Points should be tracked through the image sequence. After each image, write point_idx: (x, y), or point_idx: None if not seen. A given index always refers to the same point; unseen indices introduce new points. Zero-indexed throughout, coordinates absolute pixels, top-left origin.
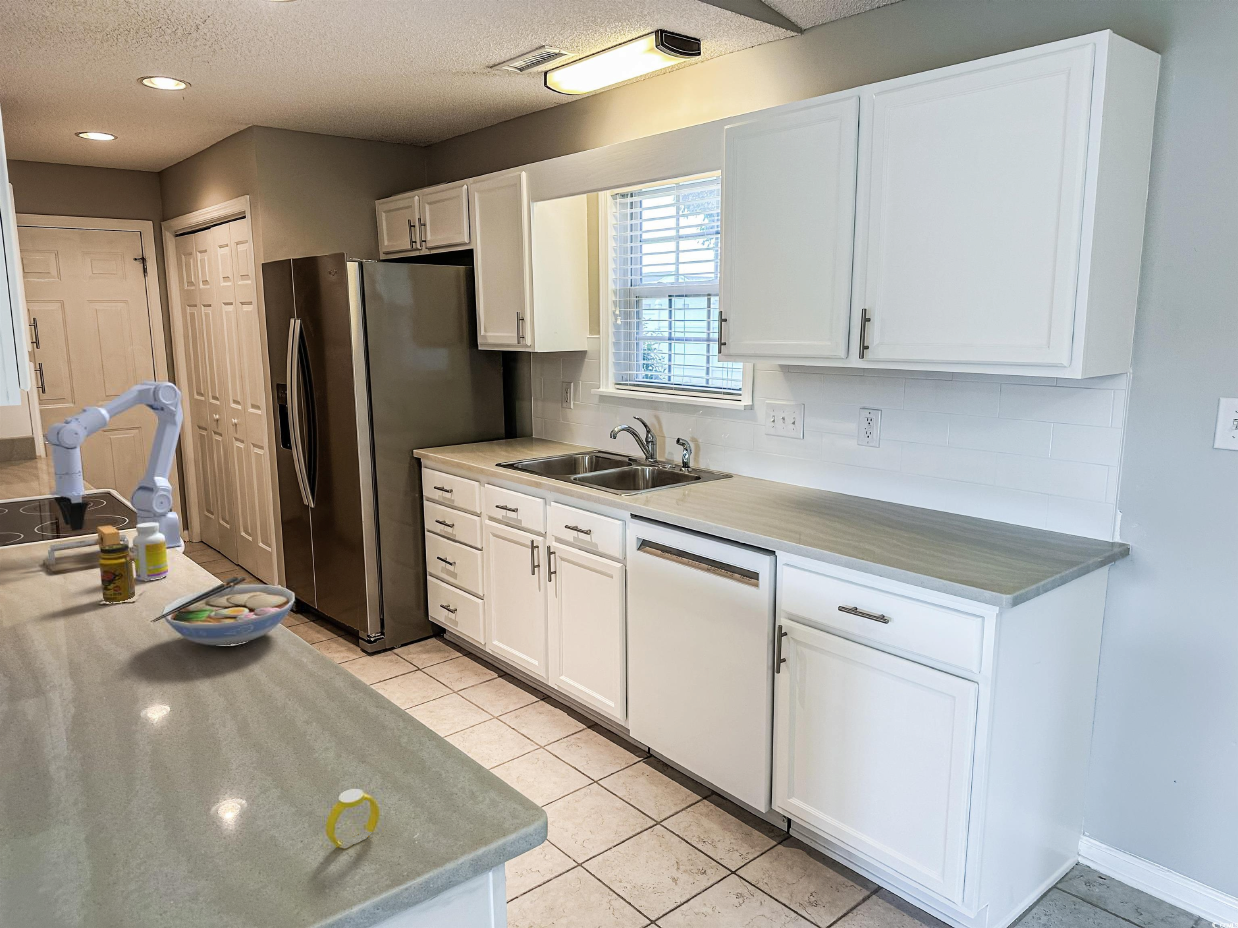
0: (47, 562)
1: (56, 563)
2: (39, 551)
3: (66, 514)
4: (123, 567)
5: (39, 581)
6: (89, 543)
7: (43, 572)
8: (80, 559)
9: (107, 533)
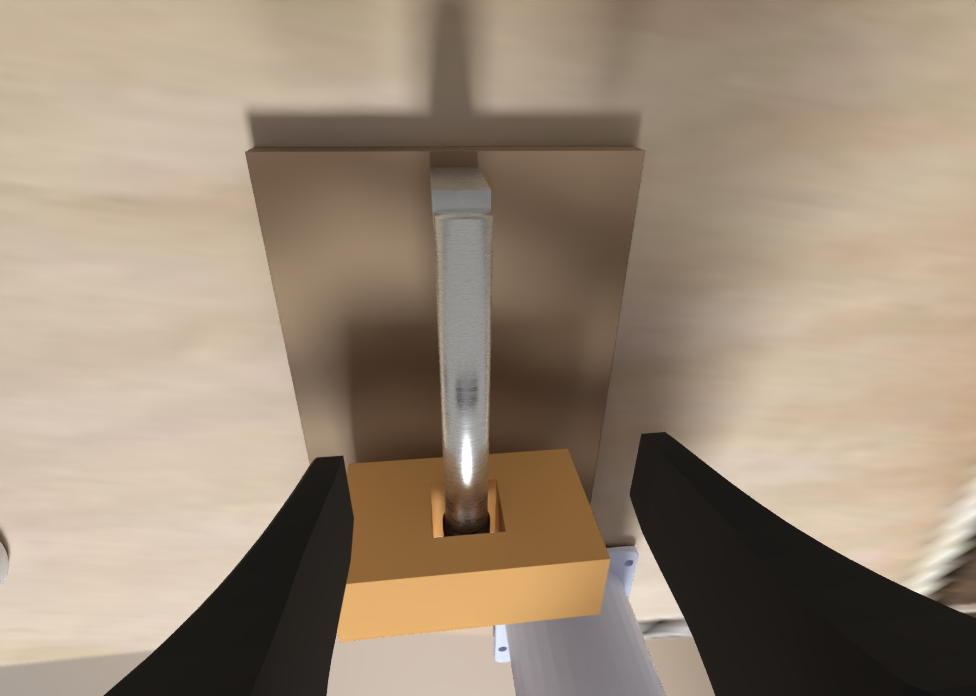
0: (539, 164)
1: None
2: (968, 178)
3: (698, 529)
4: None
5: (100, 31)
6: (443, 447)
7: (379, 106)
8: None
9: None
